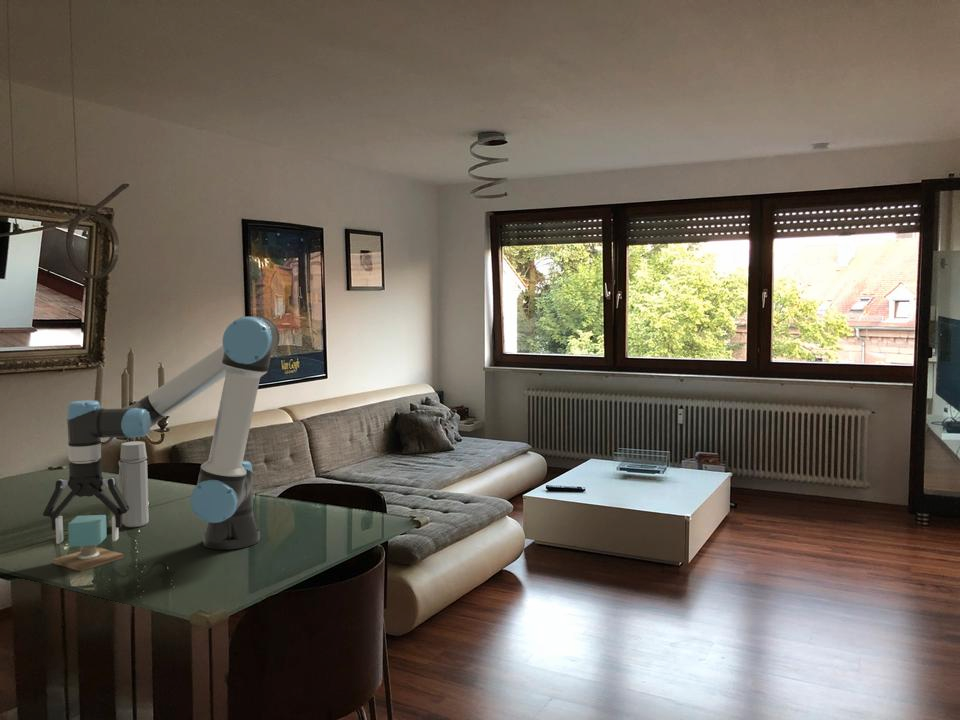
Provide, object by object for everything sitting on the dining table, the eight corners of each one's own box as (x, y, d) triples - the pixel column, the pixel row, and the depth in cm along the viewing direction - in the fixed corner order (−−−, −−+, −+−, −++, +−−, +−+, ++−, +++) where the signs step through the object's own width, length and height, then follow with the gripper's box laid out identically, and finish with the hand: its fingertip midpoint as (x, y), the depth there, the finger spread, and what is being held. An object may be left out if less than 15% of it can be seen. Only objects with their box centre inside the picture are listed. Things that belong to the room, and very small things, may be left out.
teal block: (106, 536, 203) (106, 514, 202) (98, 545, 196) (97, 522, 195) (78, 538, 202) (77, 515, 201) (68, 546, 195) (68, 523, 194)
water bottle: (141, 519, 237) (139, 440, 235) (154, 524, 232) (151, 443, 230) (111, 526, 229) (109, 444, 228) (124, 531, 224) (121, 447, 223)
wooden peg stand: (123, 557, 201) (122, 520, 201) (80, 571, 191) (79, 532, 190) (95, 550, 207) (94, 514, 206) (52, 563, 197) (51, 525, 196)
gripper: (140, 456, 203) (142, 534, 204) (39, 458, 199) (42, 538, 200) (132, 462, 195) (134, 543, 197) (26, 464, 191) (30, 547, 193)
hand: (87, 540), depth 199 cm, fingers open, 13 cm apart
